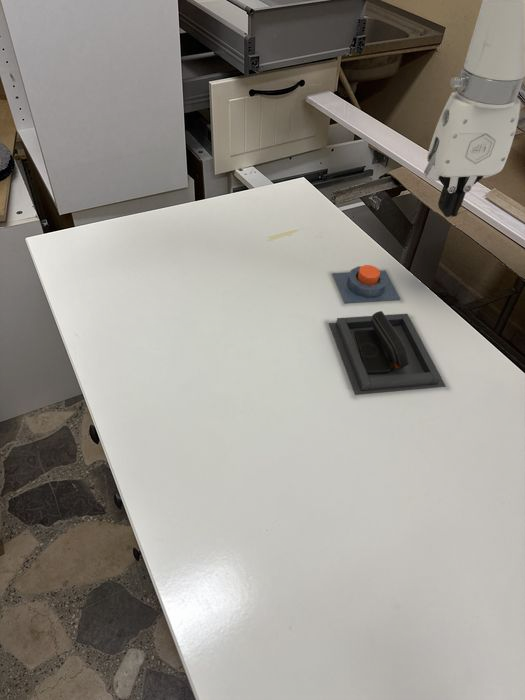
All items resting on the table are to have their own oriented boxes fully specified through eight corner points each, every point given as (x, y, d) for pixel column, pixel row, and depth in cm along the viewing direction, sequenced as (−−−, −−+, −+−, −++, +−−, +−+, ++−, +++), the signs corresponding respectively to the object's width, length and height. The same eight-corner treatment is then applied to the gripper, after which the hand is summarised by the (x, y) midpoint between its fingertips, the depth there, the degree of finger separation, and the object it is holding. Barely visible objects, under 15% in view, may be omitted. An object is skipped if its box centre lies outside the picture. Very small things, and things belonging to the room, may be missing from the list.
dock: (408, 321, 88) (412, 310, 86) (444, 390, 77) (449, 379, 76) (327, 327, 85) (329, 316, 83) (353, 399, 75) (357, 388, 73)
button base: (383, 275, 96) (387, 262, 94) (398, 304, 91) (403, 290, 88) (331, 278, 94) (334, 264, 92) (343, 307, 89) (346, 294, 87)
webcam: (406, 374, 78) (417, 347, 73) (366, 374, 77) (374, 347, 73) (391, 331, 84) (400, 304, 80) (353, 331, 83) (360, 304, 79)
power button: (374, 272, 92) (376, 264, 91) (380, 285, 90) (383, 277, 88) (354, 273, 92) (356, 265, 90) (360, 286, 89) (362, 278, 88)
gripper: (446, 98, 64) (409, 228, 77) (557, 96, 66) (503, 222, 79) (423, 76, 69) (392, 201, 82) (526, 74, 71) (480, 197, 84)
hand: (447, 211), depth 81 cm, fingers closed
